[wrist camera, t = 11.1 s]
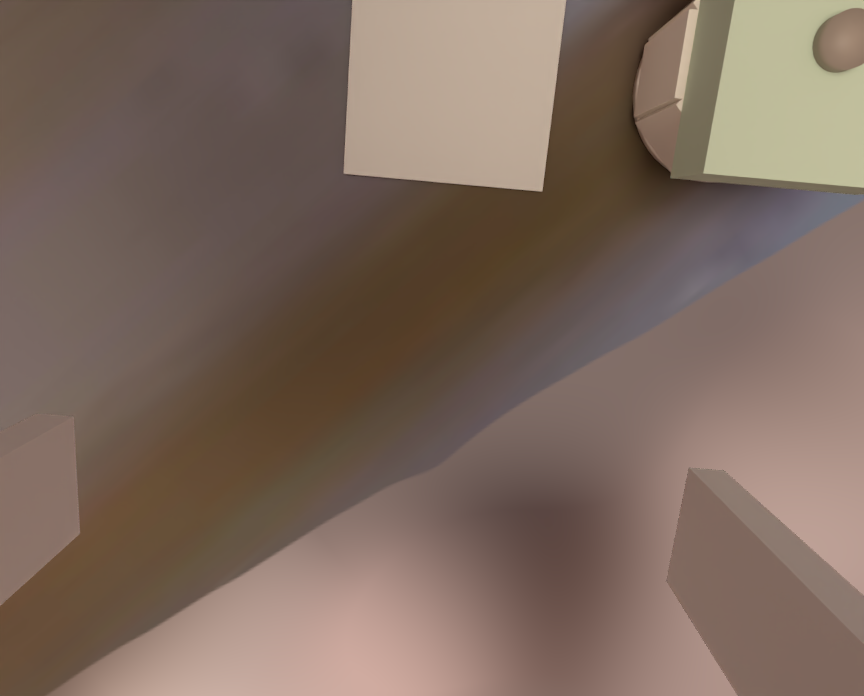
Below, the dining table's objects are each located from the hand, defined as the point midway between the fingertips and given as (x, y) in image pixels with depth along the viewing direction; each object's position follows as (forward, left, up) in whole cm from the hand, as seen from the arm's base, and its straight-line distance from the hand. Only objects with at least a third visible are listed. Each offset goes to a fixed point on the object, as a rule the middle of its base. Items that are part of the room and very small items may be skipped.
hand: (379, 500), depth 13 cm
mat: (-15, +1, -29) cm, 32 cm away
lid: (-15, +18, -21) cm, 32 cm away
